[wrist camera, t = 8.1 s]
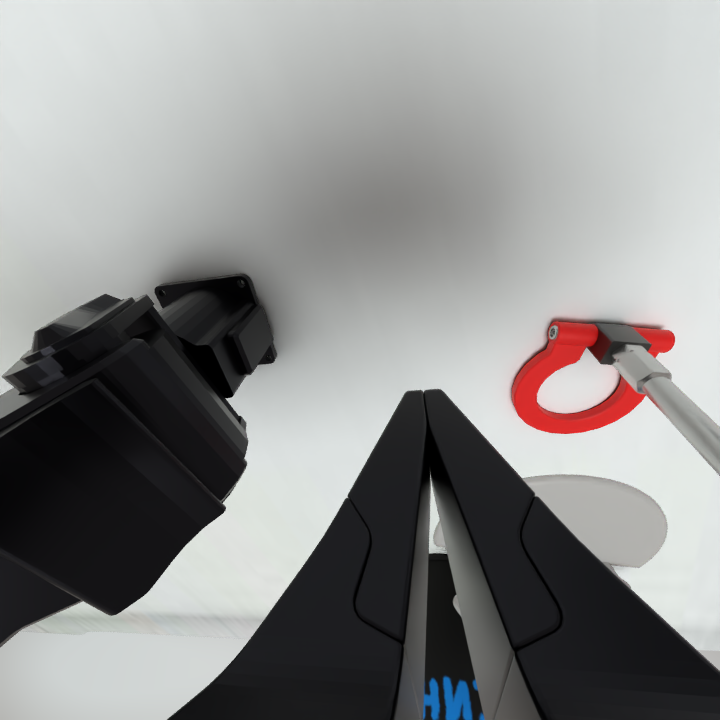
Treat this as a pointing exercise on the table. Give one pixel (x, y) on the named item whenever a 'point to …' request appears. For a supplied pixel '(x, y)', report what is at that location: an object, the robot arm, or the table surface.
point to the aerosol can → (447, 652)
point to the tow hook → (638, 378)
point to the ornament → (600, 518)
